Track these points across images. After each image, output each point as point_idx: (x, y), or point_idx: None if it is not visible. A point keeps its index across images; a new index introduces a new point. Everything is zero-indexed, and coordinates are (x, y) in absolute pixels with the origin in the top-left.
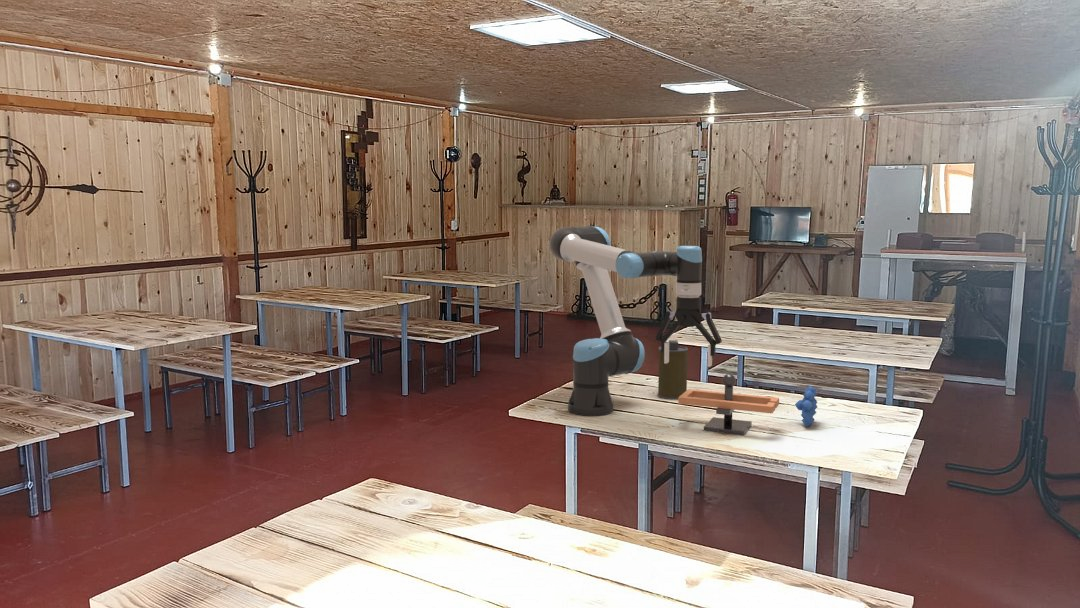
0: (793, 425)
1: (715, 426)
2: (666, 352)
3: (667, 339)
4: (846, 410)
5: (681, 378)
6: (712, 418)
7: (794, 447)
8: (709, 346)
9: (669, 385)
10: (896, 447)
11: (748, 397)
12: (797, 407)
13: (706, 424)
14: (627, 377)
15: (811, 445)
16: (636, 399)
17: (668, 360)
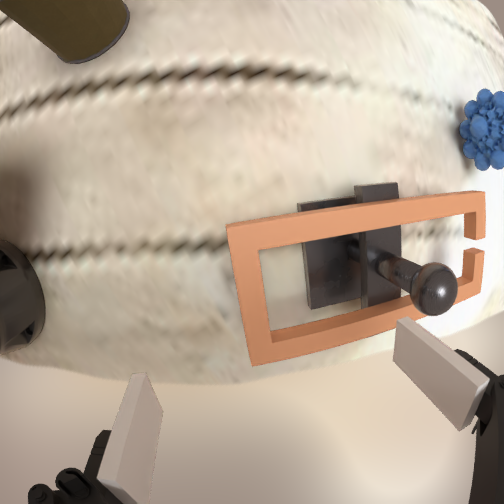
0: (446, 149)
1: (335, 290)
2: (154, 461)
3: (102, 498)
4: (455, 18)
5: (101, 6)
6: None
7: None
8: (465, 423)
9: (75, 42)
10: None
11: (434, 217)
12: (474, 135)
13: (310, 287)
14: None
15: None
16: (24, 124)
17: (147, 388)
